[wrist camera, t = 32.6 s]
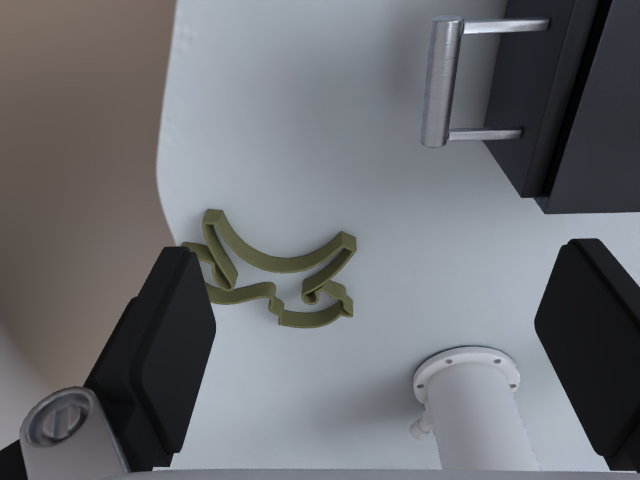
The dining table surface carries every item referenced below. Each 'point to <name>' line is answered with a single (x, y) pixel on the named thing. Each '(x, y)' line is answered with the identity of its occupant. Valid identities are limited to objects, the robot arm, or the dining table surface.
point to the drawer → (513, 84)
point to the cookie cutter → (312, 286)
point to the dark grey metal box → (602, 123)
